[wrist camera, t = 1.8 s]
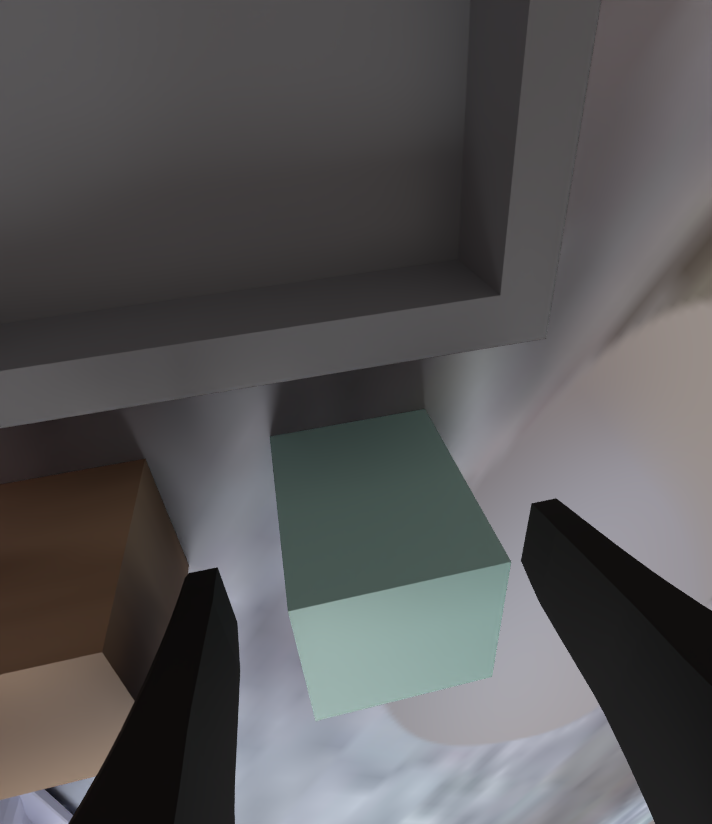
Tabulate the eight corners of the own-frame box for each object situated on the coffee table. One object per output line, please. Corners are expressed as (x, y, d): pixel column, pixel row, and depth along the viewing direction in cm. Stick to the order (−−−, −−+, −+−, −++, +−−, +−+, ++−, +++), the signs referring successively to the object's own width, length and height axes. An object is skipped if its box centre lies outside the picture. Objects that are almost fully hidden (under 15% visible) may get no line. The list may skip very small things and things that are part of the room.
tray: (490, 290, 11) (546, 338, 9) (-142, 385, 10) (-239, 467, 8) (551, -404, 6) (704, -632, 4) (-769, -448, 5) (-1549, -848, 3)
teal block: (423, 515, 15) (491, 676, 11) (292, 542, 15) (315, 720, 11) (424, 408, 13) (511, 561, 9) (269, 435, 13) (288, 611, 8)
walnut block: (188, 563, 14) (171, 756, 10) (41, 593, 14) (-37, 809, 10) (145, 458, 12) (102, 652, 8) (-32, 489, 12) (-174, 713, 8)
